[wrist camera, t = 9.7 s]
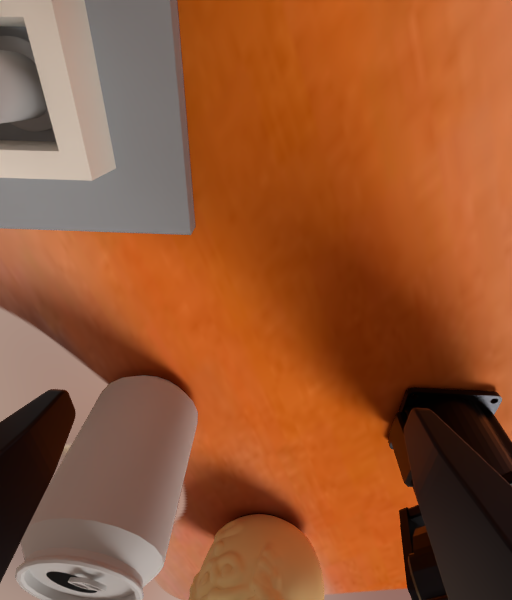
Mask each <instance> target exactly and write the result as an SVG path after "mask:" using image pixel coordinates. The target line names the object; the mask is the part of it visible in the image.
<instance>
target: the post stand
mask: <svg viewBox="0 0 512 600" xmlns="http://www.w3.org/2000/svg"><path fill="white" fill-rule="evenodd" d="M85 6H86V11H87V16H88V21H89V27H90V32H91V37H92V43H93V48H94V53H95V59H96V64H97V69H98V75H99V80H100V85H101V91H102V96H103V101H104V106H105V112H106V117H107V122H108V128H109V133H110V138H111V144H112V149H113V154H114V160H115V165H116V169H114V170H112V171H110V172H108V173H106V174H104V175H102V176H100V177H98V178H96V179H95V180H93V181H87V180H56V179H24V178H0V228H10V229H38V230H67V231H95V232H124V233H153V234H181V235H191V234H192V232H193V230H194V228H195V216H194V203H193V191H192V178H191V166H190V154H189V141H188V129H187V116H186V104H185V91H184V79H183V67H182V54H181V42H180V29H179V17H178V4H177V0H85ZM0 140H13V141H50V142H56V139H55V135H54V131H53V127H52V123H51V120H50V116H49V112H48V108H47V105H46V101H45V97H44V93H43V90H42V86H41V82H40V78H39V75H38V71H37V67H36V63H35V59H34V56H33V52H32V48H31V44H30V41H29V37H28V33H27V29H26V27H11V26H0Z"/></svg>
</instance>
